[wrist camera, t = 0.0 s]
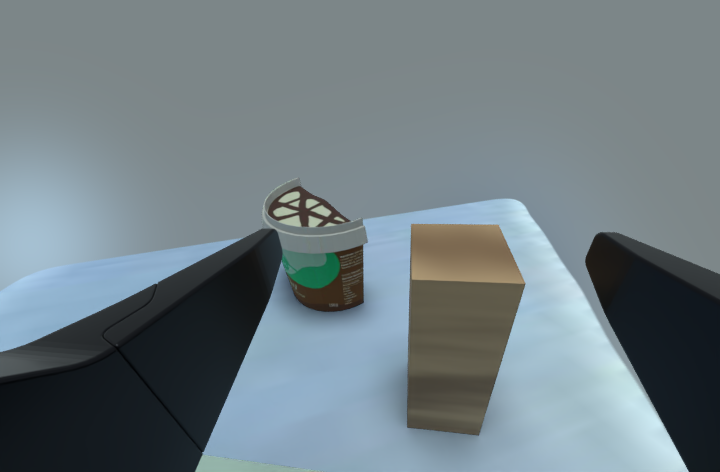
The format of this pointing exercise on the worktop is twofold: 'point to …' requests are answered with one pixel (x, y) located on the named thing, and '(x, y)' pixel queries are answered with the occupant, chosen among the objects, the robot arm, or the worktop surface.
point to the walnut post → (458, 322)
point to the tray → (241, 466)
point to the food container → (317, 248)
